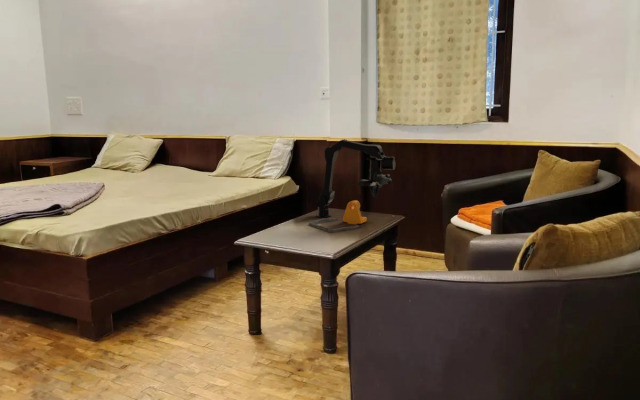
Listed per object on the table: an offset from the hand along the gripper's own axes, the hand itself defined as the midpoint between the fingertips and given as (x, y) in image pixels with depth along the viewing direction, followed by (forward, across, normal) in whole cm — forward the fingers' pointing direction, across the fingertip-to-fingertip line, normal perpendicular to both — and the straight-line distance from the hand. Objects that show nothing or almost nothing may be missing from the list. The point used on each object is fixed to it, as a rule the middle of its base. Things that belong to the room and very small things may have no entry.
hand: (374, 197), depth 274 cm
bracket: (+13, -12, +2) cm, 17 cm away
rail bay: (+13, -25, +2) cm, 28 cm away
